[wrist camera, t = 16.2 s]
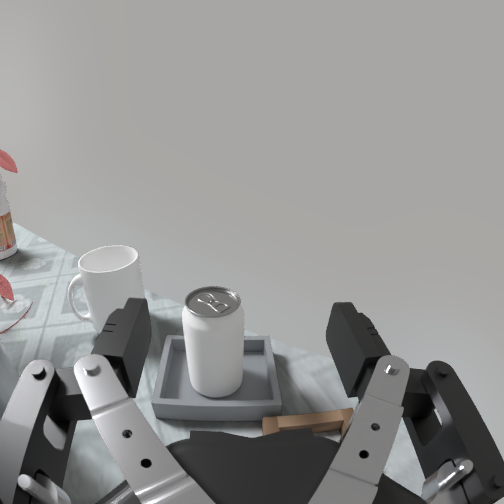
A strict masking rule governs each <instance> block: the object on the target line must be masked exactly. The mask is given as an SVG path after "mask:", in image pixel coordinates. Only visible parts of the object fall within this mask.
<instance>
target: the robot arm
mask: <svg viewBox="0 0 504 504" xmlns="http://www.w3.org/2000/svg"><path fill="white" fill-rule="evenodd" d="M150 341H151V324H150V317H149V310H148V304H147V300H146V299H145V298H128V300H127V302H126V304H125V306H124V308H123V309H120V308H117V309H116V310H115V311H113V312H112V313H111V314H110V315H109V316H108V318H107V320H106V323H105V325H104V327H103V329H102V332H101V333H100V335H99V337H98V339H97V341H96V343H95V345H94V348H93V350H92V352H91V354H90V355H87V356H84V357H82V358H81V359H79V360H78V361H77V362H76V364H75V366H74V367H71V368H61V369H55V368H54V365H53V364H52V363H51V362H50V361H49V360H46V359H37V360H34V361H32V362H30V363H29V364H28V365H27V366H26V367H25V369H24V371H23V373H22V375H21V377H20V376H19V375H18V373H17V371H16V369H15V367H14V365H13V364H12V362H11V360H10V358H9V356H8V354H7V352H6V350H5V348H4V346H3V344H2V342H1V339H0V504H71V501H70V498H69V496H68V495H67V494H66V493H65V492H64V491H63V490H62V486H63V480H64V475H65V470H66V465H67V461H68V456H69V452H70V447H71V443H72V439H73V435H74V431H75V427H76V424H77V420H89V419H93V420H94V422H95V424H96V426H97V428H98V430H99V432H100V434H101V436H102V438H103V440H104V442H105V444H106V446H107V447H108V449H109V451H110V453H111V455H112V457H113V458H114V460H115V462H116V463H117V465H118V467H119V469H120V470H121V472H122V474H123V475H124V477H125V478H126V480H125V481H123V482H122V483H121V484H120V485H119V486H117V487H116V488H115V489H114V490H112V491H111V492H110V493H109V494H107V495H106V496H105V497H104V498H102V499H101V500H100V501H98V502H97V503H96V504H493V503H495V502H496V501H498V500H499V499H501V498H502V497H504V461H503V459H502V456H501V454H500V452H499V450H498V448H497V446H496V444H495V442H494V440H493V438H492V436H491V434H490V432H489V430H488V428H487V426H486V425H485V423H484V421H483V419H482V417H481V415H480V414H479V412H478V410H477V408H476V406H475V405H474V403H473V401H472V399H471V398H470V396H469V394H468V392H467V391H466V389H465V387H464V386H463V384H462V382H461V381H460V379H459V378H458V376H457V374H456V373H455V371H454V369H453V368H452V367H451V366H450V365H448V364H447V363H445V362H442V361H433V362H431V363H429V365H428V366H427V368H426V370H422V369H413V368H409V366H408V364H407V363H406V362H405V361H404V360H403V359H401V358H399V357H397V356H393V355H391V354H390V352H389V350H388V349H387V347H386V345H385V343H384V342H383V340H382V338H381V337H380V335H378V332H377V330H376V329H375V327H374V325H373V324H372V322H371V320H370V319H369V318H368V317H366V316H365V315H364V314H363V313H358V312H357V310H356V309H355V307H354V305H353V304H352V303H351V302H336V303H334V304H333V307H332V310H331V314H330V318H329V322H328V326H327V330H326V341H327V344H328V347H329V350H330V352H331V355H332V357H333V360H334V363H335V365H336V368H337V370H338V373H339V375H340V378H341V381H342V383H343V386H344V389H345V391H346V394H347V397H348V398H351V397H358V399H359V402H358V404H357V406H356V408H355V410H354V412H353V414H352V416H351V418H350V420H349V422H348V424H347V426H346V428H345V430H344V432H343V434H342V436H341V438H340V440H339V442H338V443H337V442H336V441H333V440H331V439H328V438H325V437H320V436H314V435H313V431H312V428H303V429H291V430H282V431H278V432H275V433H271V434H267V435H264V436H260V437H256V438H249V437H243V436H238V435H233V434H229V433H224V432H211V431H190V439H184V440H180V441H177V442H174V443H172V444H170V445H168V446H166V447H165V445H164V444H163V443H162V441H161V440H160V439H159V437H158V436H157V434H156V433H155V432H154V430H153V429H152V427H151V426H150V424H149V423H148V422H147V420H146V419H145V417H144V416H143V414H142V413H141V411H140V409H139V408H138V406H137V405H136V403H135V402H134V400H133V399H132V398H136V394H137V390H138V386H139V382H140V378H141V374H142V370H143V366H144V363H145V359H146V355H147V352H148V348H149V344H150ZM435 408H436V409H437V411H438V413H439V415H440V418H441V421H442V426H441V424H440V422H439V420H438V418H437V416H436V414H435V411H434V409H435ZM401 417H403V420H404V423H405V425H406V428H407V430H408V433H409V435H410V438H411V441H412V443H413V446H414V449H415V451H416V454H417V457H418V459H419V462H420V465H421V468H422V471H423V474H424V476H425V479H426V481H425V482H424V484H423V487H422V495H421V497H419V496H418V495H416V494H414V493H413V492H411V491H410V490H408V489H406V488H405V487H403V486H401V485H400V484H398V483H397V482H395V481H394V480H392V479H390V478H389V477H387V476H386V475H384V474H383V473H382V472H383V470H384V467H385V465H386V462H387V459H388V457H389V454H390V451H391V448H392V445H393V442H394V439H395V436H396V433H397V430H398V427H399V424H400V421H401Z"/></svg>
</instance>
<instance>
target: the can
mask: <svg viewBox="0 0 504 504" xmlns="http://www.w3.org/2000/svg"><path fill="white" fill-rule="evenodd" d="M240 303H241V301H240V297H239V295H238V294H237V293H235V292H234V291H232V290H230V289H228V288H224V287H217V286H209V287H203V288H199V289H196V290H194V291H192V292H191V293H189V294H188V295H187V297H186V299H185V307H184V309H183V312H182V320H183V330H184V339H185V347H186V355H187V362H188V369H189V376H190V381H191V384H192V386H193V388H194V389H195V390H196V391H197V392H199V393H200V394H202V395H205V396H208V397H213V398H220V397H225V396H228V395H230V394H232V393H234V392H235V391H236V390H237V389H238V388H239V387H240V385H241V383H242V377H243V349H244V310H243V308H242V306H241V304H240Z"/></svg>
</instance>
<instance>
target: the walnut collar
mask: <svg viewBox="0 0 504 504" xmlns="http://www.w3.org/2000/svg"><path fill="white" fill-rule="evenodd" d="M353 412H354V410H353V408H348V409H341V410H334V411H327V412H319V413H310V414H300V415H289V416H275V417H263V421H262V433H263V436H264V435H267V434H271V433H275V432H278V431H282V430H291V429H303V428H312V431H313V433H316V432H323V431H330V430H337V429H339V430H340V433H341V436H342V434H343V432H344V430H345V428H346V426H347V424H348V422H349V420H350V418H351V416H352V414H353Z"/></svg>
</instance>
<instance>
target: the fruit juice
mask: <svg viewBox="0 0 504 504" xmlns="http://www.w3.org/2000/svg"><path fill="white" fill-rule="evenodd" d="M16 251H17V244H16V239H15V235H14V230H13V225H12V219H11V214H10V207H9V203H8V200H7V198H6V183H5V181H4V180H3V179H2V177H1V175H0V260H1V259H5V258H8V257H10V256H12V255H13V254H14V253H16Z"/></svg>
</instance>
